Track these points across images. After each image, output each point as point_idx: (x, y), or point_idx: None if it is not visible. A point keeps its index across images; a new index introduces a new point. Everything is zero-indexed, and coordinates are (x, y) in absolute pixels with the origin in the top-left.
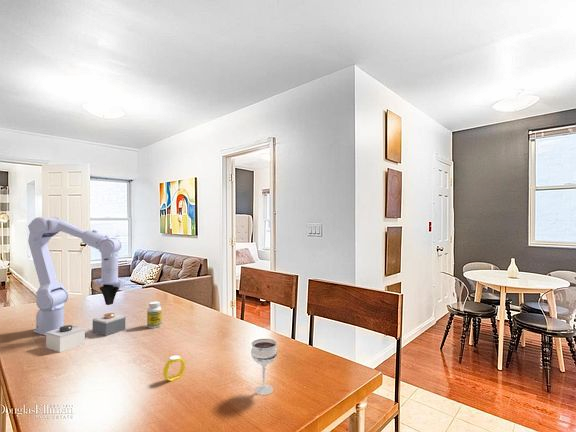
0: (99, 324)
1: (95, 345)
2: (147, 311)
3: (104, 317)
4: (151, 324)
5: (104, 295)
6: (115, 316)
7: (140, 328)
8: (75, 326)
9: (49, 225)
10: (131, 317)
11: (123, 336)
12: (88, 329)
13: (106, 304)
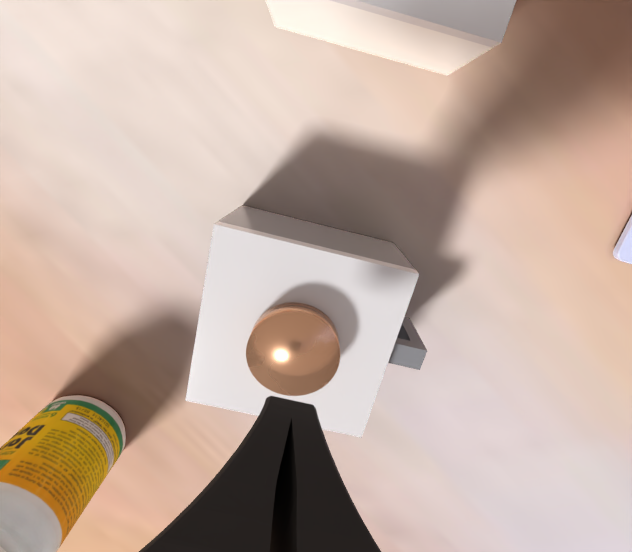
0: (316, 239)
1: (165, 17)
2: (36, 493)
3: (311, 308)
4: (53, 408)
5: (314, 509)
6: None
7: (136, 376)
8: (413, 9)
9: None
10: None
11: (121, 228)
12: (469, 290)
13: (301, 404)
